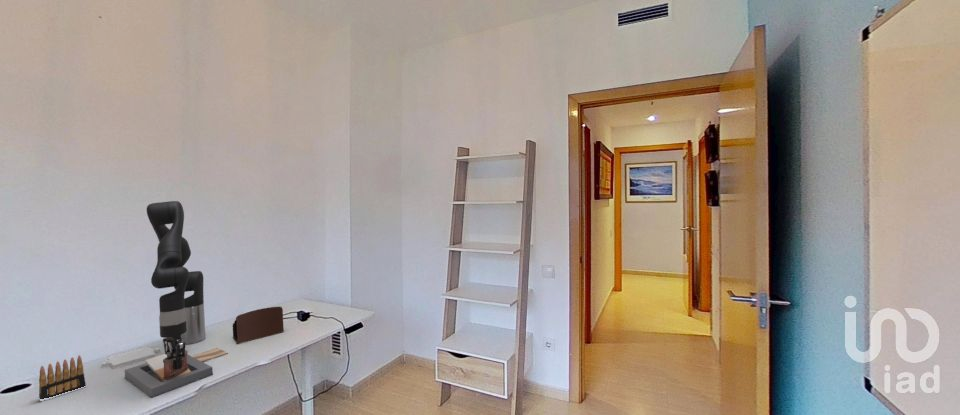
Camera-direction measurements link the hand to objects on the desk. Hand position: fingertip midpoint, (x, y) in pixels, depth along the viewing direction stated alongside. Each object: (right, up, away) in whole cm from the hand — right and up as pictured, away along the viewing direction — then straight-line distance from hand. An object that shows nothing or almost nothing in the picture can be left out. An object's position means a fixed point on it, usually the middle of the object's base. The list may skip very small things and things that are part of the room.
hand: (175, 367), depth 133 cm
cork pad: (-4, -5, +22) cm, 23 cm away
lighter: (-1, -3, +1) cm, 3 cm away
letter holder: (+4, -4, +44) cm, 45 cm away
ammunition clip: (-34, -7, -6) cm, 36 cm away
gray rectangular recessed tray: (-7, -5, +5) cm, 10 cm away
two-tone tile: (-7, -2, +5) cm, 8 cm away
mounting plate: (-36, -6, +21) cm, 43 cm away
